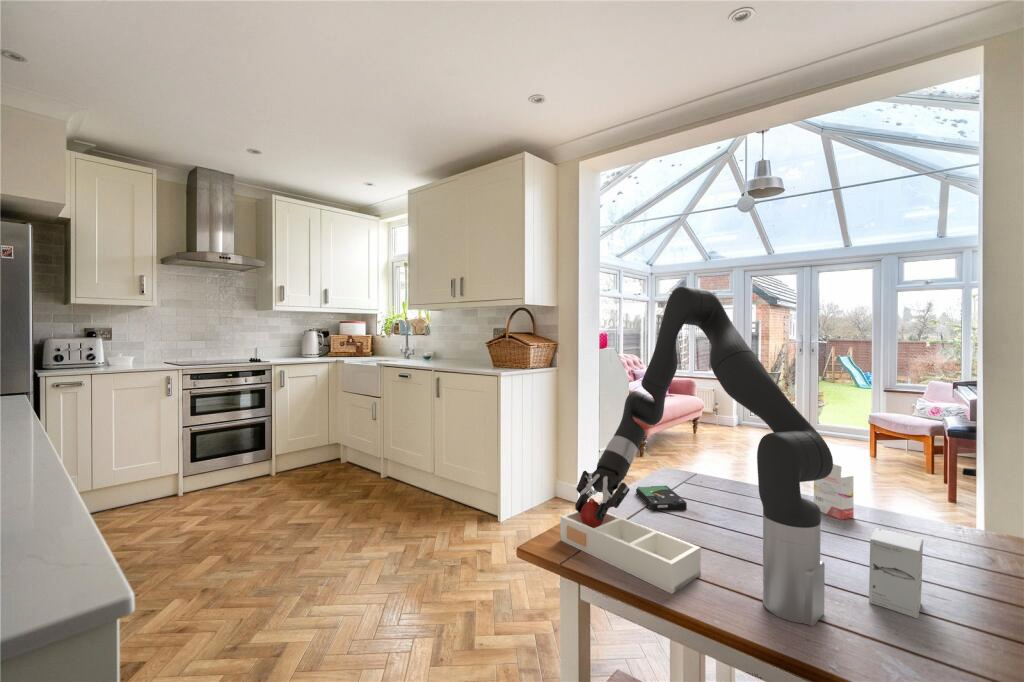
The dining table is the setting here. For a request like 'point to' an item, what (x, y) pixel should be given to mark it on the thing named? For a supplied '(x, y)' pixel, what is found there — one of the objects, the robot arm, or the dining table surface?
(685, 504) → the disk drive
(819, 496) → the ink cartridge box
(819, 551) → the robot arm
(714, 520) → the dining table surface
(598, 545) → the compartment tray
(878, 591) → the supplement box
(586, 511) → the onion
